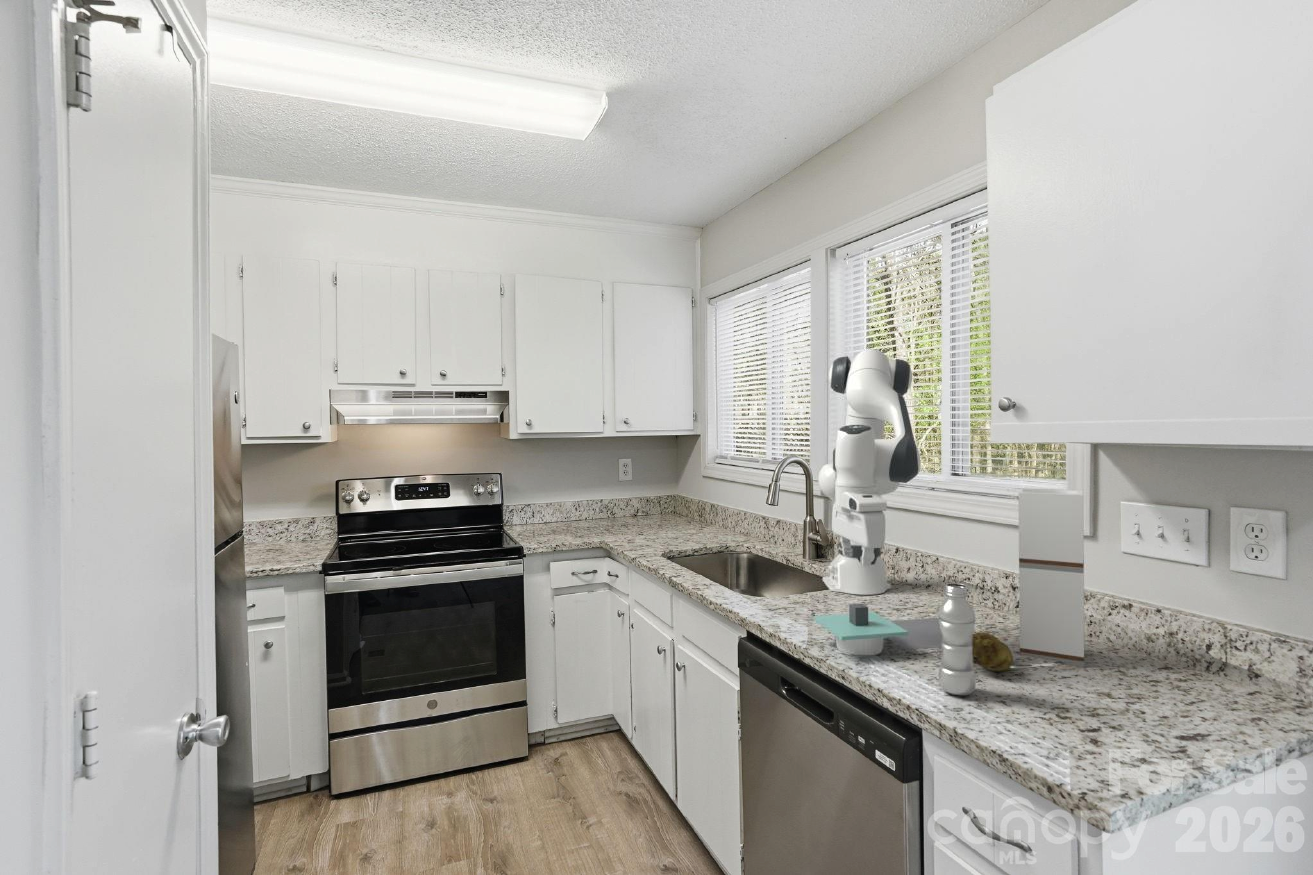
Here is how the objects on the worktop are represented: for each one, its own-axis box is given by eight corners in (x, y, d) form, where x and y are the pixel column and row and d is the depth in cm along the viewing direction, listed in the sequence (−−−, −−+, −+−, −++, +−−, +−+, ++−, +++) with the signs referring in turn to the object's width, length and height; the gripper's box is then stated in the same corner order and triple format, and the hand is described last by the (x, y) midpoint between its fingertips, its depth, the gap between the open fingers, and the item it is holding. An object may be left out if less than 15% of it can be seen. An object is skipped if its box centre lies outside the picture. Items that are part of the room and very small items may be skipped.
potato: (1031, 670, 132) (1031, 631, 132) (988, 683, 126) (988, 641, 126) (994, 658, 139) (994, 620, 139) (952, 669, 134) (951, 630, 134)
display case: (1084, 651, 142) (1083, 490, 141) (1084, 667, 133) (1082, 495, 133) (1024, 642, 148) (1022, 488, 148) (1019, 657, 140) (1018, 492, 139)
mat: (864, 624, 164) (864, 622, 164) (939, 620, 166) (939, 617, 166) (903, 651, 144) (903, 649, 144) (988, 646, 147) (988, 643, 147)
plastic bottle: (976, 688, 124) (974, 582, 124) (977, 702, 118) (976, 591, 117) (938, 683, 127) (937, 579, 126) (938, 696, 120) (936, 588, 120)
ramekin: (848, 639, 154) (848, 616, 154) (895, 649, 146) (894, 626, 146) (823, 651, 146) (823, 628, 146) (871, 663, 138) (871, 638, 138)
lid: (813, 619, 152) (813, 599, 152) (873, 615, 154) (873, 595, 154) (842, 640, 137) (841, 617, 137) (908, 635, 140) (908, 612, 140)
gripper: (824, 493, 155) (825, 551, 156) (861, 504, 135) (862, 571, 135) (850, 492, 156) (850, 550, 157) (890, 503, 136) (891, 570, 136)
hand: (856, 560), depth 146 cm, fingers open, 8 cm apart
